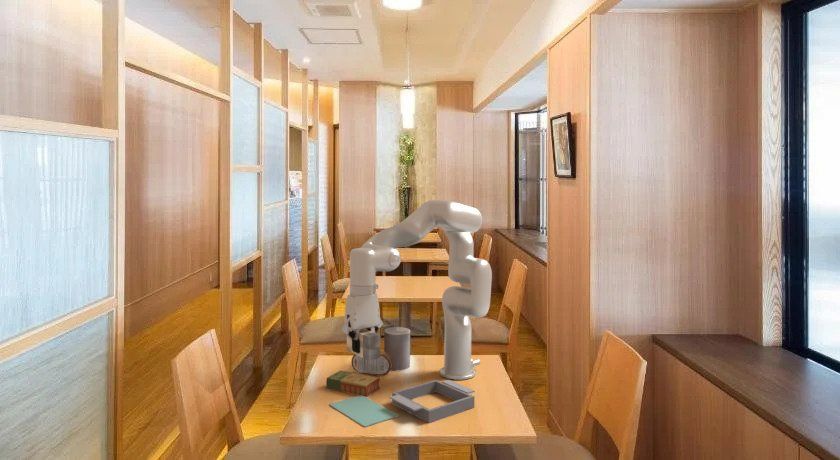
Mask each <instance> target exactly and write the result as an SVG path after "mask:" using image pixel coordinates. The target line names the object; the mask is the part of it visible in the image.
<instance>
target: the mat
mask: <svg viewBox="0 0 840 460" xmlns="http://www.w3.org/2000/svg"><path fill="white" fill-rule="evenodd" d="M328 405H329V407H332V408H333V409H334V410H336V411H338V412H339V413H341V414H343V415H344V416H345V417H347V418H349V419H350V420H353V422H355V421H356V422H355V423H358V425H360V426H362V427H363V426H364V427H363V428H367V427H370V426H373V425H376V424H380V423H383V422H386V421H389V420H392V419H396V418H398V417H400V415H399V414H398V413H395V412H394V411H392V410H390V409H388V408H386V407H385V406H383V405H382V404H379V403H377V402H376V401H374V400H373V399H370V398H369V397H368V396H367V397H365V396H363V395H356V396H352V397H350V398H347V399H346V398H345V399H342V400H339V401H335V402H332V403H329V404H328Z"/></svg>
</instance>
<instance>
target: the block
mask: <svg viewBox="0 0 840 460" xmlns="http://www.w3.org/2000/svg"><path fill="white" fill-rule="evenodd" d="M349 330H350V331H351V327H349ZM358 339H359V340H360V353H356V352H354V351H353V350H352V338H350V336H348V335H347V334H346V351H347V352H349V353H351V354H353V355H354V354H355V355H357V356H360V357H362V358H364V359H366V360H368V361H370V360H374V359H378V358H380V351H381V334H380V333H377V332H376V333H375V332H372V331H369V330H367V329H366V328H365V329H360V331H359V337H358Z"/></svg>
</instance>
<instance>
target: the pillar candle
mask: <svg viewBox="0 0 840 460" xmlns="http://www.w3.org/2000/svg"><path fill="white" fill-rule="evenodd" d="M383 333H384V334H383V335H384V337H383V342H384V343H383V347H384V348H383V352H386V353H387V354H389V355H390V356H391V358H392V360H393V367H392V369H391V371H395V370H398V371H404V370H406V369H409V368H410V367H411V329H410V328H407V327H402V326H393V327H388V328H386V329H384V332H383Z"/></svg>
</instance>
